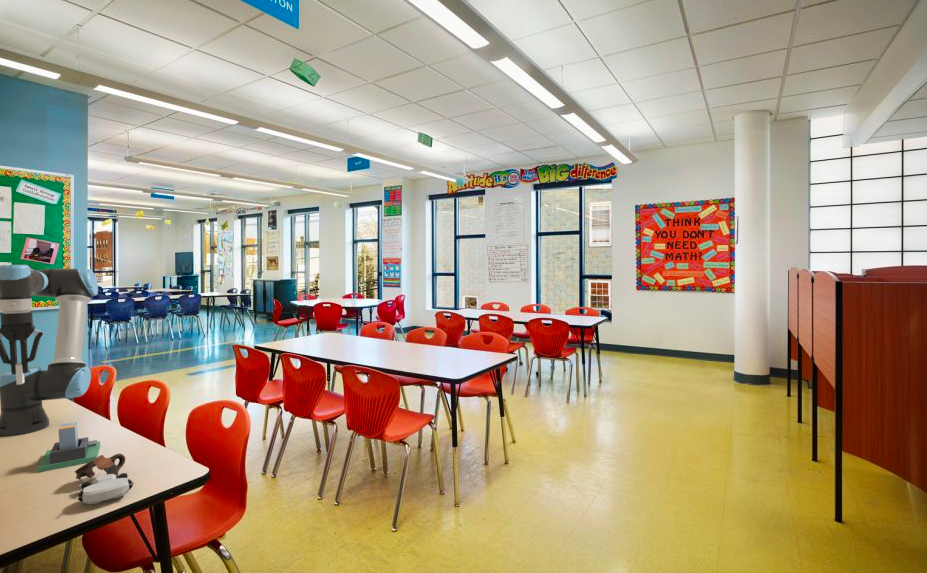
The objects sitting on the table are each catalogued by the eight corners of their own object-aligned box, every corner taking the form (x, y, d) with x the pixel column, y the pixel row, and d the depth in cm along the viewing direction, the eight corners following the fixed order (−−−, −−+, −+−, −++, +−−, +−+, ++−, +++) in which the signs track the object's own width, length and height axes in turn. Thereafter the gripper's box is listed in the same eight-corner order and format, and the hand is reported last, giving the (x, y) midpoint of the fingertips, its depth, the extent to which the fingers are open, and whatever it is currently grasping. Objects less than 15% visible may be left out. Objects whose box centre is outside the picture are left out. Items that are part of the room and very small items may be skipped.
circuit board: (47, 454, 155) (46, 440, 155) (100, 445, 163) (99, 431, 163) (38, 472, 142) (37, 456, 142) (96, 460, 150) (95, 445, 149)
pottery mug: (95, 492, 130) (78, 468, 129) (82, 499, 134) (65, 476, 133) (137, 465, 140) (122, 442, 140) (124, 472, 145) (108, 450, 144)
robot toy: (77, 495, 129) (76, 513, 117) (76, 479, 129) (75, 495, 117) (131, 482, 137) (135, 498, 125) (130, 466, 137) (135, 481, 125)
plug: (62, 454, 152) (61, 423, 151) (78, 451, 154) (77, 421, 154) (60, 460, 147) (58, 429, 146) (76, 457, 149) (74, 426, 149)
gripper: (-15, 314, 145) (-11, 389, 146) (41, 311, 152) (45, 382, 153) (-9, 312, 151) (-5, 384, 152) (45, 309, 159) (48, 378, 160)
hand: (20, 383), depth 153 cm, fingers closed
